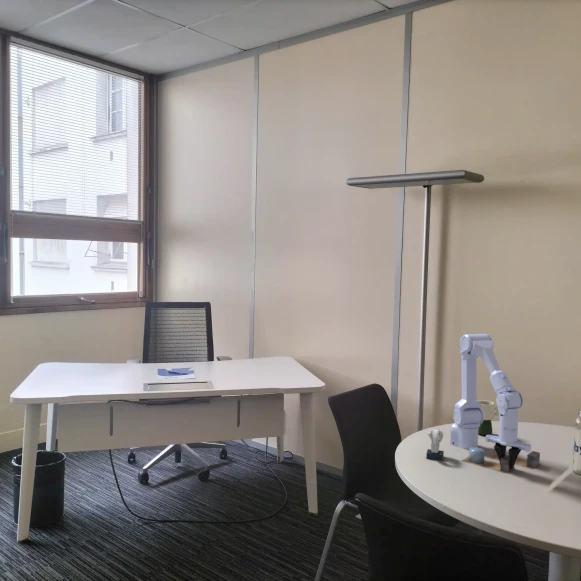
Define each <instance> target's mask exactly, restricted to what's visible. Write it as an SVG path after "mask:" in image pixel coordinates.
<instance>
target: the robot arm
mask: <svg viewBox="0 0 581 581" xmlns="http://www.w3.org/2000/svg"><path fill="white" fill-rule="evenodd" d="M494 343H495V342H494V340H493V338H492V336H491V334H489V333H477V334H476V333H473V334H472V333H471V334H469V333H467V334H463V336H461V337H460V338H459V353H460V355H461V399H460V400H459V401H457V402H456V403H455V404H454V410H453V414H452V416H453V417H452V418H453V421H454V422H453V423H452V425H451V429H450V442H449V444H450V445H451V446H455V447H459V448H460V449H463V450H469V449H470V448H472V447H478V446H479V433H478V427H479V426H480V424H481V423H482V422H483V420H484V413H483V410H482V405H481V404H480V403H479V402H478V401H479V400H477V395H478V394H477V359H478V357H480V358H481V360H482V362H483V363H484V365H485V367H486V369H487V370H488V372H489V374H490V376H489V381H490V383H491V384H492V388H493V389H494V392H495V394H496V398H495V401H496V405H497V407H498V411H499V422H498V423H499V425H498V426H499V427H498V435H492V434H490V435H485V442H487V443H489V442H490V443H494V446H493V449H494V452H496V453H497V455H498V458H499V460H498V461H499V462H498V463H500V467H501V458H503V457H504V456H505V454H507V453H506V452H507V447H510V448H509V449H508V455H509V458H510V462H509V469H511V470H512V469H513V468H514V467H515V461H516V459H517V457H518V458H519V455H520V454H521V451H525V452H527V453H530V452H532V444H529V443H526V442H523V441H521V440H518V432H519V430H518V429H519V409H521V408H522V407H523V404H524V399H523V395H522V393H521V392H520V391H519V390H517V388H514V387H513V385H512V383H511V382H512V381H511V380H510V378H509V377H508V374H507V372H505V371H503V370H501V368H500V365H499V362H498V360H497V357H496V355H495V353H494V350H493V349H494V346H495V345H494ZM478 448H479V447H478ZM514 469H515V468H514ZM514 469H513V470H514ZM513 470H512V471H513Z"/></svg>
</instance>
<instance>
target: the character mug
mask: <svg viewBox="0 0 581 581" xmlns="http://www.w3.org/2000/svg"><path fill="white" fill-rule="evenodd" d="M477 401H478V402H479V403H480V404H481V405H482V410H483V413H484V420H483V422H482V423H481V424H480V426H479V427H478V435H483V436H487V435H492V434H493V425H492V420H494V417H495V416H496V417H497V416H500V413H499V411H498V406H497V407H496V406H495V402H493V401H490V400H484V399H483V400H477ZM495 411H496V413H495Z"/></svg>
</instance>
